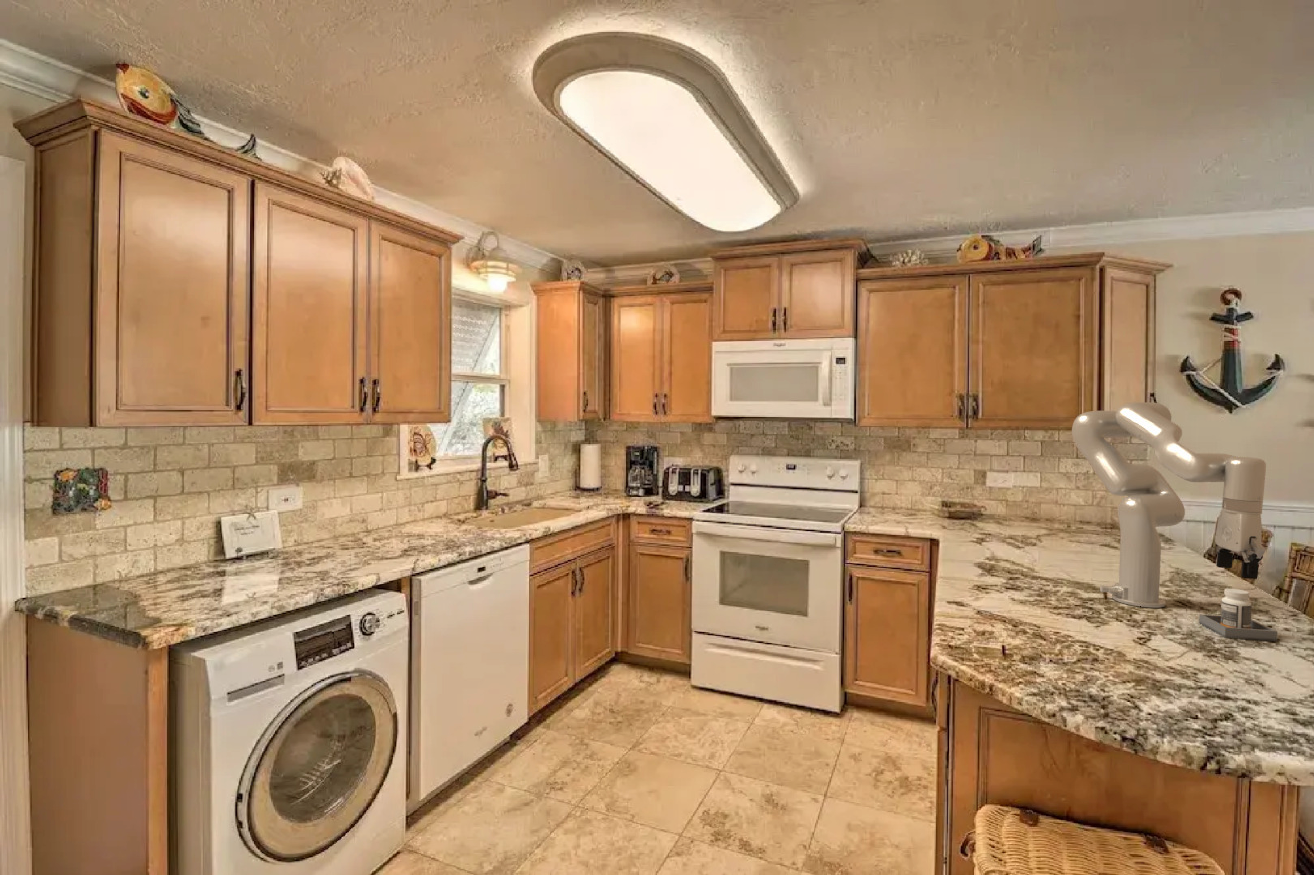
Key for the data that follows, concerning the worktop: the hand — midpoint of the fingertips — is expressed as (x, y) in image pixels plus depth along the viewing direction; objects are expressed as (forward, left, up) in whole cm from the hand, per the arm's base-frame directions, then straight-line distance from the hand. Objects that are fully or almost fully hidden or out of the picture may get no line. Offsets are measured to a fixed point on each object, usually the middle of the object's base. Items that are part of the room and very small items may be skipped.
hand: (1236, 572), depth 163 cm
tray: (0, -1, -15) cm, 15 cm away
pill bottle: (0, 0, -15) cm, 15 cm away
